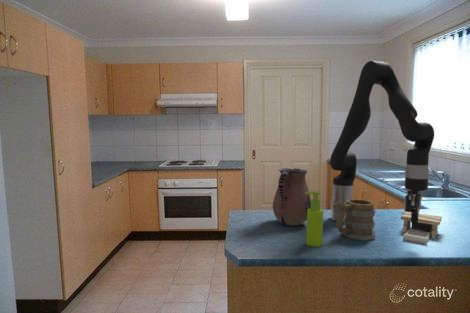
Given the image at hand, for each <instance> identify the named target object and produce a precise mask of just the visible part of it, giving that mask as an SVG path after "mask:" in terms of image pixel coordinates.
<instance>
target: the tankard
mask: <svg viewBox="0 0 470 313" xmlns="http://www.w3.org/2000/svg"><path fill="white" fill-rule="evenodd" d="M374 205H375V203H374V201H370V200H367V199H358V198H357V199H355V198H353V199H352V200H347V204H346V205H344V204H342V203H340V202H338V201H337V202H336V203H334V204H333V207H334V208H335V209H336V208H337V207H340V212H339V217H338V219H337V221H336V228H337V231H338V233H340V234H341V235H342V236H344V237H346V238H349V239H351V240H358V241H373V240H376V233H377V232H376V231H375V230H373V229H374V228H375V225H376V222H375V220H374V217H375V214H376V213H377V212H376V208H374V207H375V206H374ZM345 213H346V217H345ZM344 217H345V219H344ZM343 219H344V222H343ZM343 225H344V226H343Z"/></svg>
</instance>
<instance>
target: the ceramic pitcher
mask: <svg viewBox="0 0 470 313" xmlns="http://www.w3.org/2000/svg"><path fill="white" fill-rule="evenodd" d="M278 171H279V172H280V175H279V178H278V184H277V185H278V187H277V189H276V192H275V194H274V198H273V202H272V211H273V214H274V217H275V218H276V219H277V221H278V222H279V223H280V224H282V225H286V226H291V227H293V226H295V227H296V226H299V225H303V224H304V223H305V222H307V209H309V208H311V194H308V195H307V194H305V192H310V191H309V187H308V184H307V181H306V180H307V179H306V175H307V173H308V170H305V169H301V168H293V169H292V168H287V167H285V168H279V169H278Z"/></svg>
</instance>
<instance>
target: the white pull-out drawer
mask: <svg viewBox="0 0 470 313" xmlns="http://www.w3.org/2000/svg"><path fill="white" fill-rule="evenodd" d="M431 235H432V231H429V232H428V231H427V232H426V231H423V230H422V231H421V230H417V229H412V227H410V228H409V229H408V231H407V232H406V233H403V237H402V238H403V239H402V241H404V242H410V243H416V244H420V245H425V244H426V245H428V242H429V239H430V238H431ZM429 237H430V238H429Z"/></svg>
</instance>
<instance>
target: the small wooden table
mask: <svg viewBox="0 0 470 313" xmlns="http://www.w3.org/2000/svg"><path fill="white" fill-rule="evenodd" d="M400 220H403V227H402V228H403V229H402V232H403V234H406V232H407V231H408V229H409V228H411V229H415V228H416V229H415V230H421V229H422V231H427V230H428V231H431V235H430V238H431V237H432V239H435V238H436V236H437V233H438V229H439V228H438V227H439V226H440V224H441V222H442V220H443V216H439V215H432V214H426V213H425V214H424V213H419V214H418V223H417V224H415V223H411V212H404V213H403V214H402V215H401V216H400ZM428 231H427V232H428Z"/></svg>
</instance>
